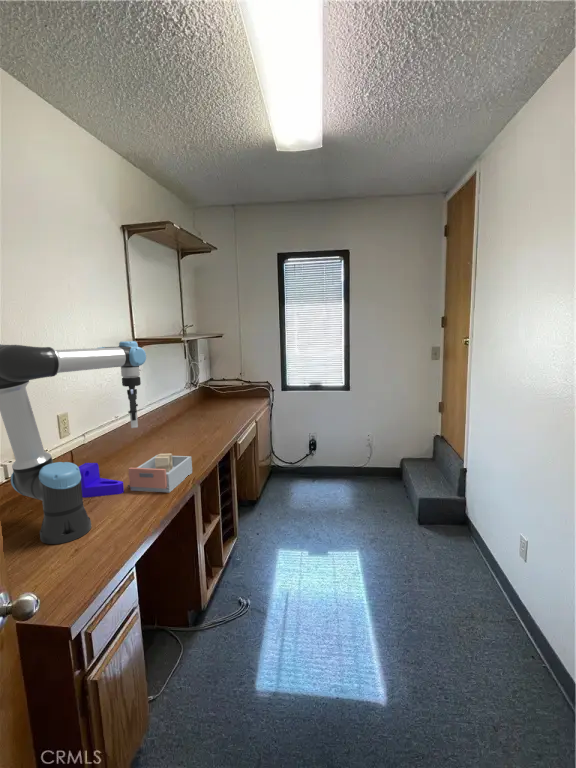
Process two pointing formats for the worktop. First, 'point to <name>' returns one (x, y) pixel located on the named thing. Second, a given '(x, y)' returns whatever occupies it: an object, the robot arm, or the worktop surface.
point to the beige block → (164, 462)
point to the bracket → (97, 482)
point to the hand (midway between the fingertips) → (134, 424)
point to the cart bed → (169, 473)
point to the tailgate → (147, 477)
